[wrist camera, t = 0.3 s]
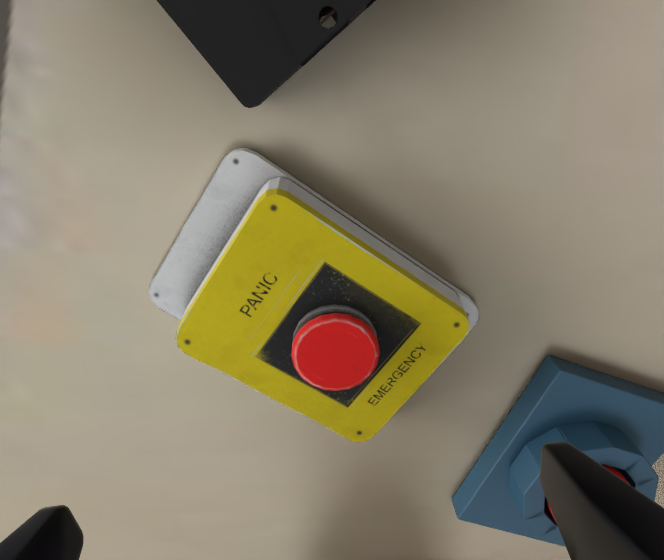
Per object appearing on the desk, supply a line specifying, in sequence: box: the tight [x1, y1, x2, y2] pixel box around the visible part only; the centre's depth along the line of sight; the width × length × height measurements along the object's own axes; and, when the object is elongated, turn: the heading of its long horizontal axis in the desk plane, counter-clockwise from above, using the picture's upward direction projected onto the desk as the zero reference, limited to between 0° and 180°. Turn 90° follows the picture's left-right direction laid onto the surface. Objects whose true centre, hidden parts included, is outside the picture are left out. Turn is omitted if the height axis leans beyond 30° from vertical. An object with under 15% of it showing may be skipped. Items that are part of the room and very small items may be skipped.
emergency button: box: [148, 148, 479, 442], centre depth 21 cm, size 9×4×15 cm
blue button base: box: [452, 355, 664, 547], centre depth 26 cm, size 12×9×4 cm
